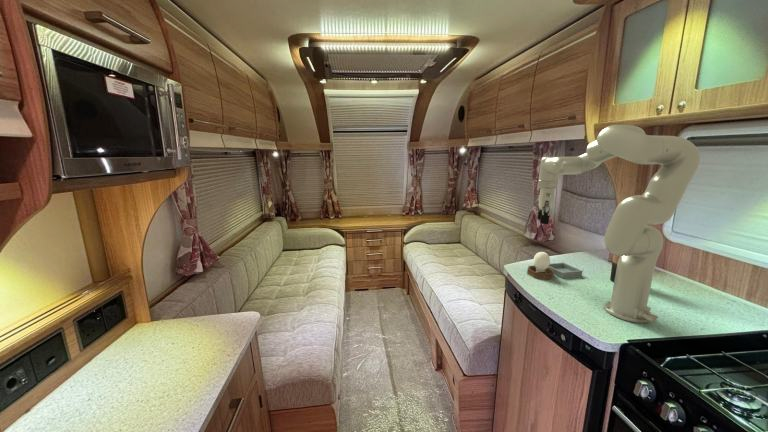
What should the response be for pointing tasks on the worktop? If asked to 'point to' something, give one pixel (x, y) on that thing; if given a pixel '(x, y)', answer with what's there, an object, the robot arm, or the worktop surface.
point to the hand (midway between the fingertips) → (542, 221)
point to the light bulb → (541, 262)
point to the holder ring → (540, 275)
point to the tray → (565, 270)
